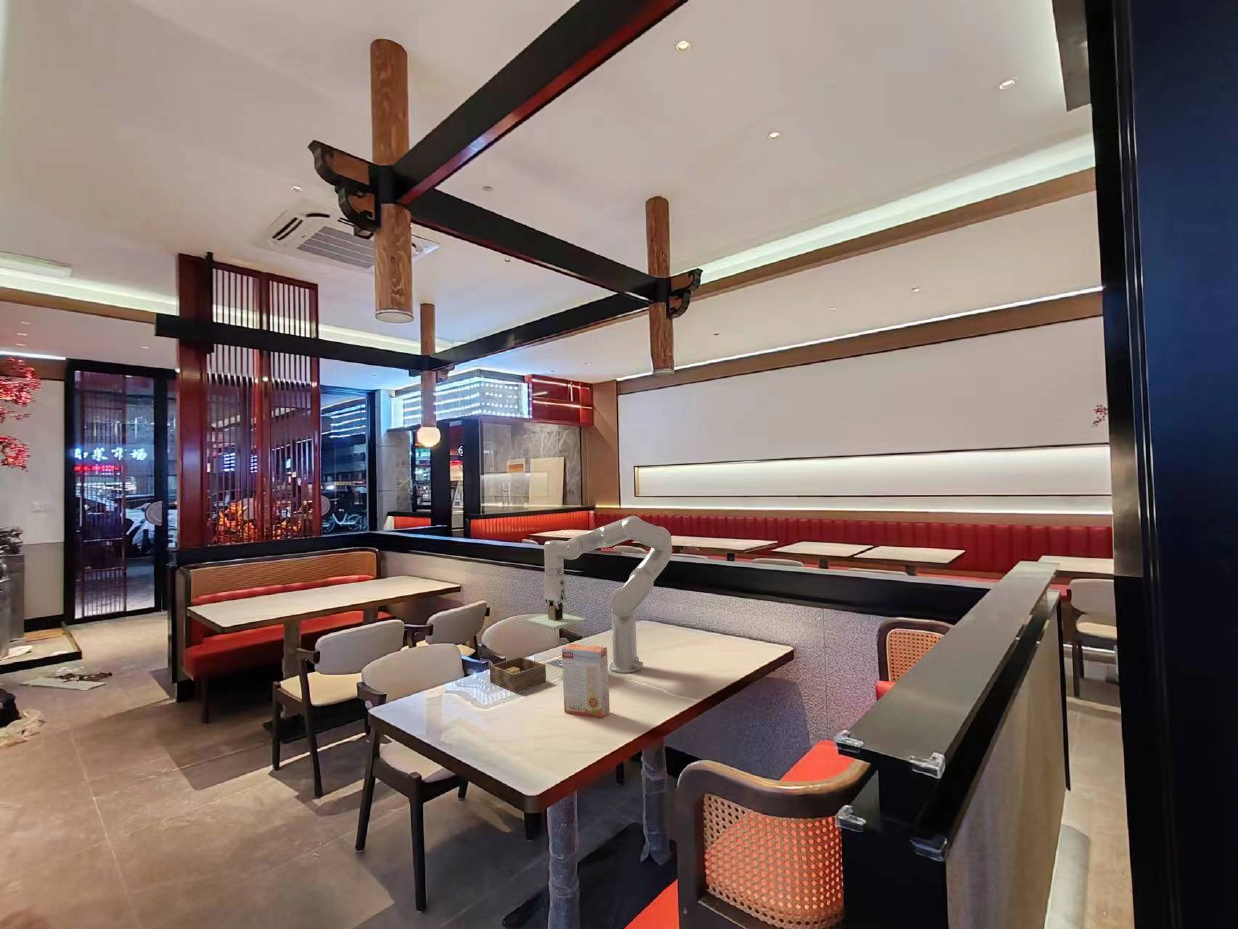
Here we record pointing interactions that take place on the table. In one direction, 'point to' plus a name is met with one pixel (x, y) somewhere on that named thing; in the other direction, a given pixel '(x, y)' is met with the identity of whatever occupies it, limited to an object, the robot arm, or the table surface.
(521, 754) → the table surface
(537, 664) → the crate
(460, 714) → the table surface
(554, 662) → the mat
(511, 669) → the ochre block
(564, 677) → the cracker box
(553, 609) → the lid
